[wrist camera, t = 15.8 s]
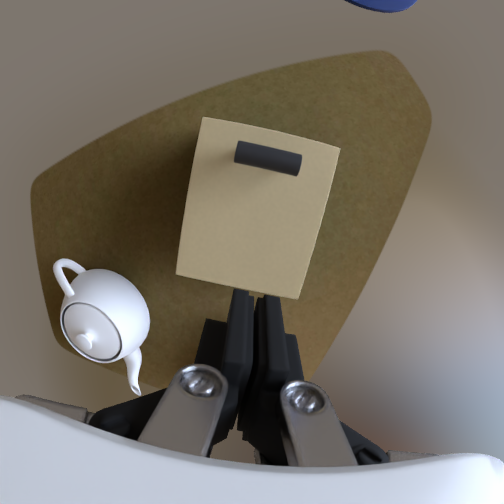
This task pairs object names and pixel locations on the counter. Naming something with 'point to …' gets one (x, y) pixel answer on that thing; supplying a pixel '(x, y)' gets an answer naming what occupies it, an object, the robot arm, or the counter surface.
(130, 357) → the teapot
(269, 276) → the lid
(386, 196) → the counter surface
